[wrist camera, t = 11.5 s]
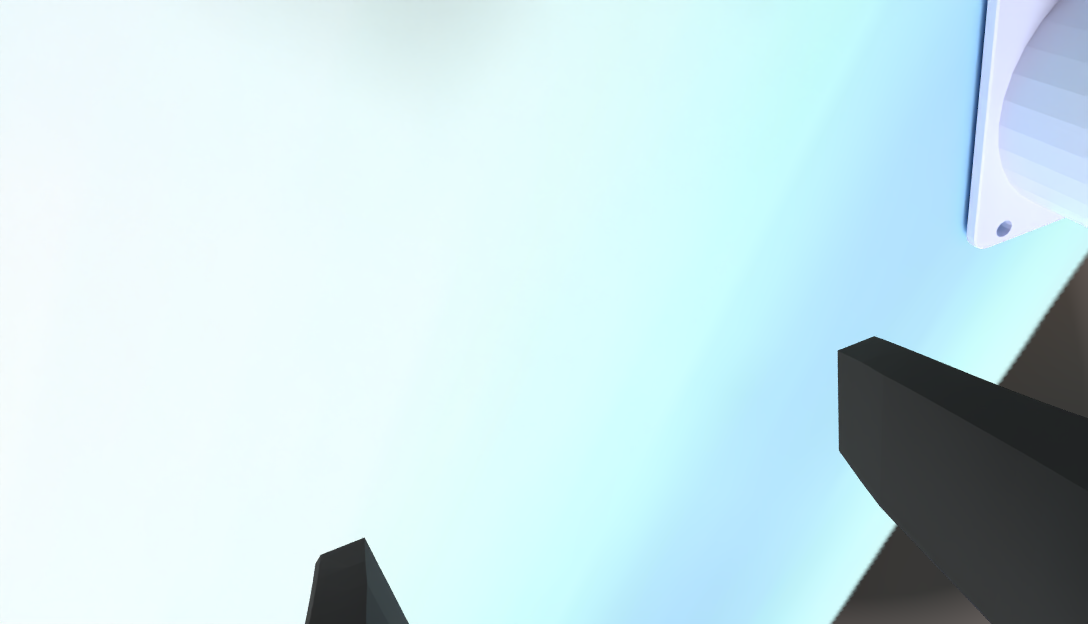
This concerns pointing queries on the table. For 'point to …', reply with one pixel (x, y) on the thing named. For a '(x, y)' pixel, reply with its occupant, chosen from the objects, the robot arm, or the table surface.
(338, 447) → the table surface
